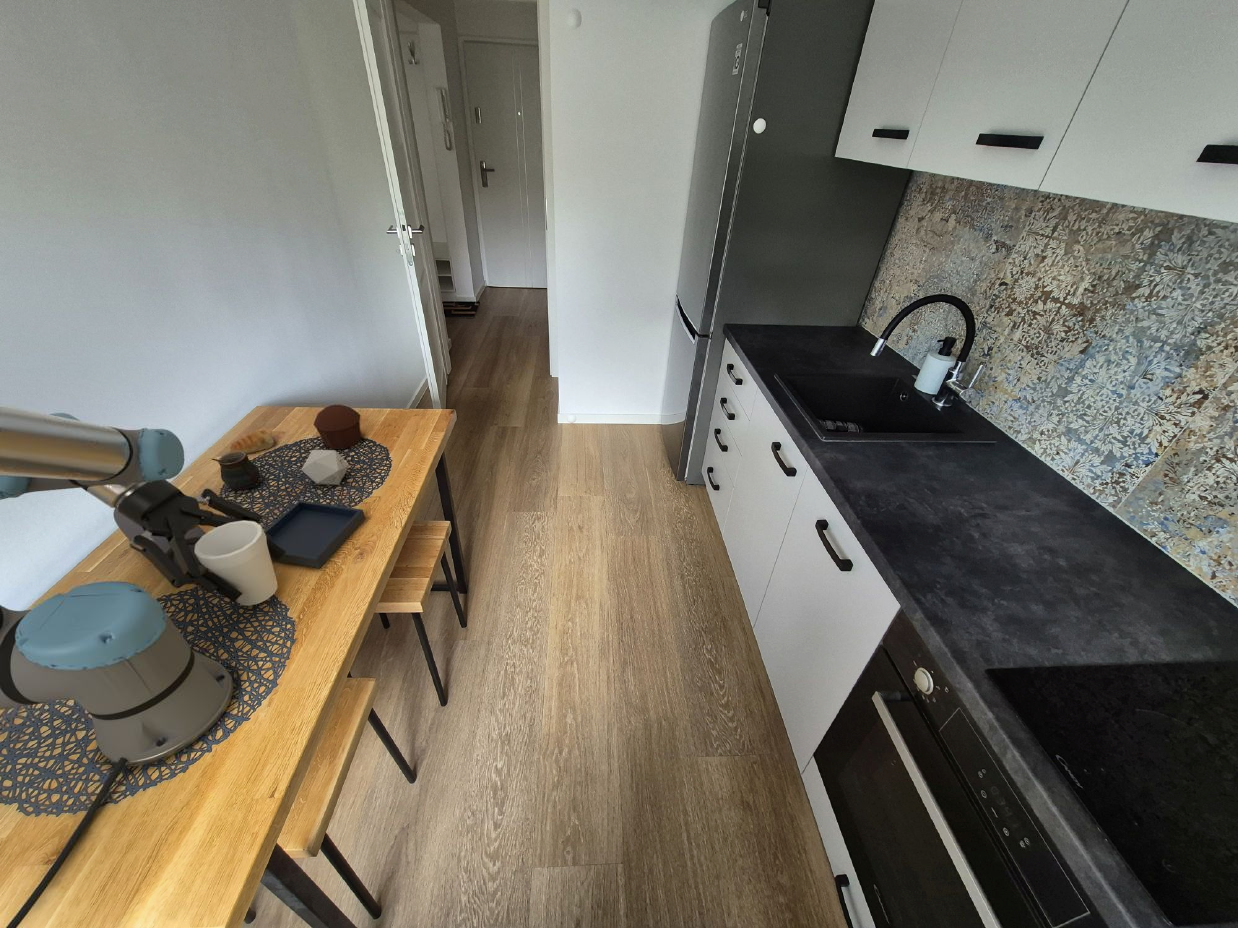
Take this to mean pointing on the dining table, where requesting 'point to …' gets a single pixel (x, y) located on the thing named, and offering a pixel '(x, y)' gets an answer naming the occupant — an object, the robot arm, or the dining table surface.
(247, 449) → the pastry
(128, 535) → the bluetooth speaker
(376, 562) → the dining table surface
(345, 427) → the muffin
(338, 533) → the tray
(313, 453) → the die
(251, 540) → the foam cup
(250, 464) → the dark brown pitcher
